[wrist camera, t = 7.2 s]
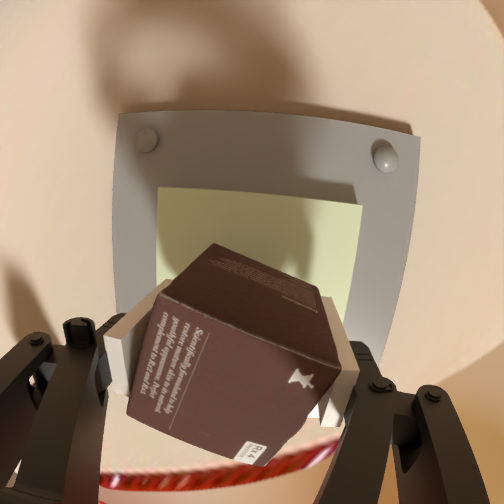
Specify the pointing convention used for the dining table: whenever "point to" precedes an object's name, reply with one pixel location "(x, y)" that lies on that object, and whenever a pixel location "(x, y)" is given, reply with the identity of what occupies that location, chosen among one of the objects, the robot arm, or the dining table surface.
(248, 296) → the box
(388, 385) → the robot arm
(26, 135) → the dining table surface
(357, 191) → the board
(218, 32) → the dining table surface
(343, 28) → the dining table surface
